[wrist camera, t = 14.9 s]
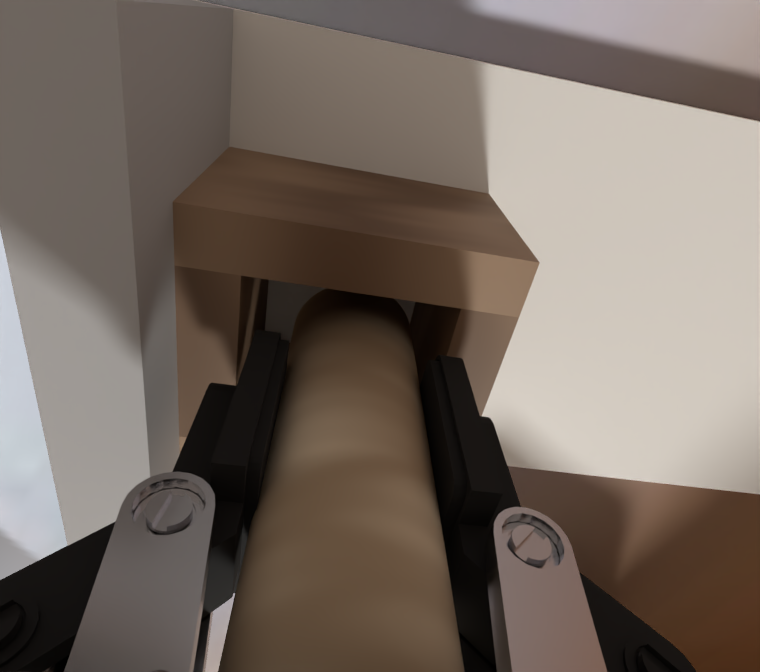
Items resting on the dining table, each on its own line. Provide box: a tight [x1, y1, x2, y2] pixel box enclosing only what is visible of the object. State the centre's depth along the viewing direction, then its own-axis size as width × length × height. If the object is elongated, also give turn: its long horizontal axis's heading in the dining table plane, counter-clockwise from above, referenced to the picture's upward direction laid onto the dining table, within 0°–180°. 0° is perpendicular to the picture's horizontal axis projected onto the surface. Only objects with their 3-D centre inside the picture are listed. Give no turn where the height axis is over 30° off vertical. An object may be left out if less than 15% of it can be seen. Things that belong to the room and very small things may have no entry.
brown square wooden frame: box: [173, 147, 540, 452], centre depth 14 cm, size 8×8×5 cm
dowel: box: [218, 288, 465, 672], centre depth 9 cm, size 3×3×12 cm
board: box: [0, 0, 760, 545], centre depth 15 cm, size 26×14×8 cm, turn 79°
